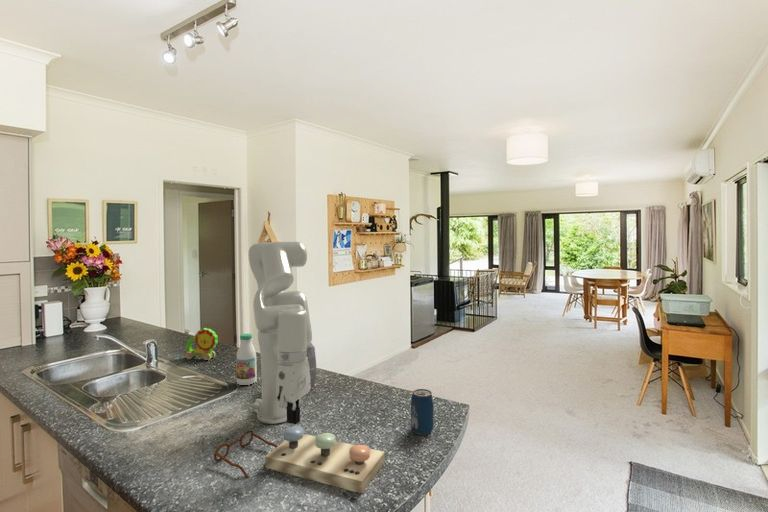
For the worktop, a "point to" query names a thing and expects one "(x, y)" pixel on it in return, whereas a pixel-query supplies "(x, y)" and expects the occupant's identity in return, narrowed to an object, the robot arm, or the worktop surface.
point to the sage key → (325, 440)
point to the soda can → (422, 411)
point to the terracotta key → (359, 453)
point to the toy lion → (202, 344)
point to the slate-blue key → (293, 433)
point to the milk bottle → (246, 361)
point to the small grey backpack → (312, 363)
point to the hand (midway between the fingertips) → (293, 422)
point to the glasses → (241, 446)
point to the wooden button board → (325, 463)
